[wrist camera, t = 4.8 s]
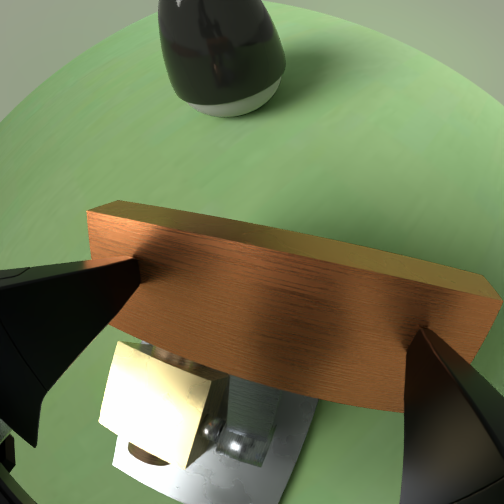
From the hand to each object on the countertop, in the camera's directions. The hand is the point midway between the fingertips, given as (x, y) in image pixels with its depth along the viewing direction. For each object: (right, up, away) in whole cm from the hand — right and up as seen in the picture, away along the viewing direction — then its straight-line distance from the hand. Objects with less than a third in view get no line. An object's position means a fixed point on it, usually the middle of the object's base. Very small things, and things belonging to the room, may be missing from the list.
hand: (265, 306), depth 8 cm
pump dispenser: (-2, +16, +17) cm, 24 cm away
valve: (-3, -8, +8) cm, 12 cm away
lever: (-1, -9, +5) cm, 11 cm away
